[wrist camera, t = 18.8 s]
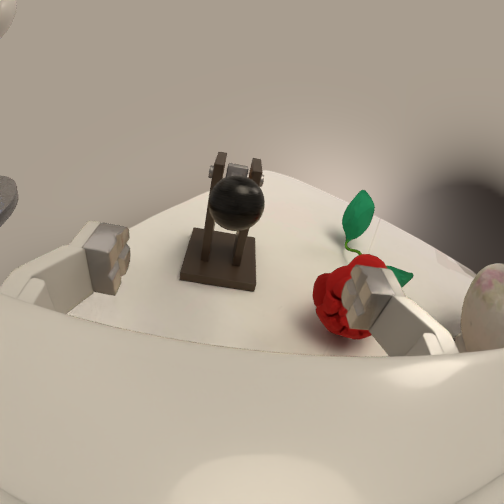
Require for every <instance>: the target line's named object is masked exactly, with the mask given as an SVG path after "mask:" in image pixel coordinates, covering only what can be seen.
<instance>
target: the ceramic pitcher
mask: <svg viewBox="0 0 504 504" xmlns="http://www.w3.org/2000/svg"><path fill="white" fill-rule="evenodd" d="M461 330H462V332H461V333H460V334H459V335H457V336H456V337H455V344H456V346H457V349H458V351H459V353H465V352H475V351H484V350H492V349H500V348H504V264H499V263H497V264H492V265H489V266H486V267H485V268H484V269H482V270H481V271H480V272H479V273H478V274H477V276H476V277H475V278H474V280H473V281H472V283H471V285H470V287H469V289H468V291H467V294H466V296H465V298H464V302H463V307H462V313H461Z"/></svg>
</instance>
